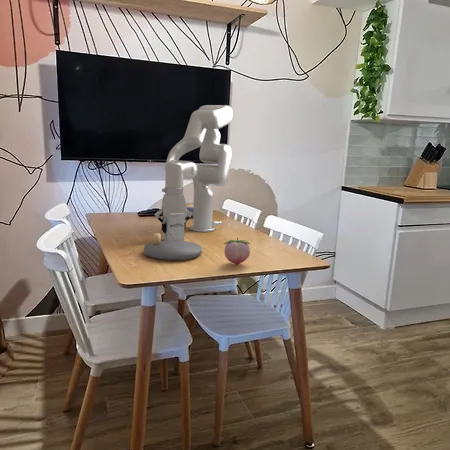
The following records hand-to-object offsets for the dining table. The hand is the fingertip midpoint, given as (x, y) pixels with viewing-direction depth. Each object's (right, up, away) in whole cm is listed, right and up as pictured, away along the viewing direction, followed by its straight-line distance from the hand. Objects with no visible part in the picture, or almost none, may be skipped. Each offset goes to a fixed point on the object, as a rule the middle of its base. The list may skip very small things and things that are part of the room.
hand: (173, 231), depth 174 cm
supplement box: (0, -4, +1) cm, 4 cm away
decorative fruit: (+26, -12, -29) cm, 41 cm away
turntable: (+2, -8, -19) cm, 21 cm away
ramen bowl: (+3, +8, +59) cm, 59 cm away
